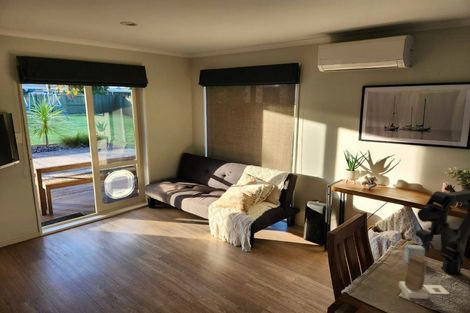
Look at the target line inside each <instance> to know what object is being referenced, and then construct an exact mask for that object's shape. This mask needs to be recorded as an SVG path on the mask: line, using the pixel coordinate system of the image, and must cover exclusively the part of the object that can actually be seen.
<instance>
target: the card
mask: <svg viewBox="0 0 470 313" xmlns="http://www.w3.org/2000/svg"><path fill="white" fill-rule="evenodd" d="M423 286H424V287H425V288H424V287H423V288H424V289H425V290H426V291H427V292H428V294H430V295H450V292H449V291H448V290H446V289H445V288H444V286H442V284H423Z"/></svg>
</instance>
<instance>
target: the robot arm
mask: <svg viewBox="0 0 470 313" xmlns="http://www.w3.org/2000/svg"><path fill="white" fill-rule="evenodd" d="M460 202H466V215H465V216H464V218H463V219H462V221H461V223H460V224H459V226H458V227H457V228H455V229H454V228H453V227H451V226H450V223H449V222H448V216H449V211H452V210H453V208H452V206H454V205H455V204H456V203H460ZM425 205H426V206H425ZM425 205H424V206H422V208H421V209H419V210H418V211H417V218H418V219H419V221H421V222H422V223H427V222H430V223H431V224H430V226H429V227H428V230H429V231H428V230H427V229H417V230H416V232H415V236H416V237H417V238H419V240H420V241H421V244H422V245H423V246H422V247H423V248H424V249H425V253H426V252H427V253H428V252H429V251H430V245H431V243H432V242H434V237H438V236H440V254H441V257H443V258H444V259H443V262H442V266H440V268H441V270H443V271H444V272H445V273H446V274H448V275H449V276H463V272H461V271H462V266H464V265H465V264H466V263H467V260H468V259H467V258H466V257H465V255H464V254H465V246H464V245H465V243H466V241H467V240H468V238H469V236H470V189H466V190H460V191H458V190H457V191H452V192H447V191H439V190H438V191H434V193H433V194H432V195H431V196H430V198H429V199H428V200H427V202H426V204H425Z"/></svg>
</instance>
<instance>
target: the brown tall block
mask: <svg viewBox="0 0 470 313" xmlns="http://www.w3.org/2000/svg"><path fill="white" fill-rule="evenodd" d="M428 261H429V259H426V258H425V257H424V258H422V257H419V256H417V255H414V256H411V257H410V259H409V264H407V271H406V276H405V286H407V287H409V288H411V289H413V290H415V291H418V290H420V289H422V288H424V287H423V285H424V281H425V277H426V272H427V266H428Z"/></svg>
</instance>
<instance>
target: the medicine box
mask: <svg viewBox="0 0 470 313" xmlns="http://www.w3.org/2000/svg"><path fill="white" fill-rule="evenodd" d="M404 246H405V247H404V254H403V261H404V262H405V263H406V265H409V259H410V257H411V256H414V255H417V256H419V257H422V258H424V259H425V255H426V251H425V248H424V246H422V245H420V244H419V245H416V244H415V245H414V244H405V245H404Z"/></svg>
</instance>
